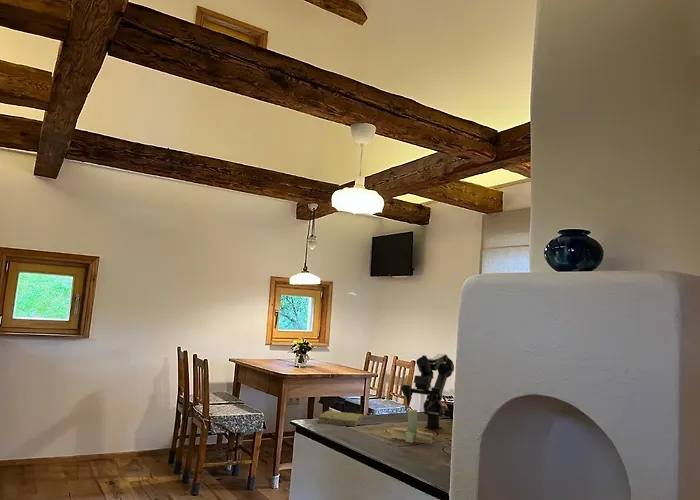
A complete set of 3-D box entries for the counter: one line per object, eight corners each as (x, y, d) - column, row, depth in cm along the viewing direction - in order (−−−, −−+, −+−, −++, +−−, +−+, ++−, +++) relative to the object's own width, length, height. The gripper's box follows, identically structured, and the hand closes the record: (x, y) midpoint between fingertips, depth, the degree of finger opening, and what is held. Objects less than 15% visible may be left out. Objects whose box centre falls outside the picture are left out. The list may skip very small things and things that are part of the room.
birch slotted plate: (394, 436, 242) (394, 427, 243) (432, 442, 234) (432, 433, 235) (392, 437, 240) (392, 428, 240) (430, 444, 232) (430, 434, 232)
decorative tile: (325, 416, 282) (325, 409, 283) (363, 419, 278) (363, 412, 279) (316, 424, 264) (316, 416, 265) (356, 427, 260) (356, 419, 260)
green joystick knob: (410, 437, 242) (411, 408, 243) (419, 439, 240) (419, 409, 241) (404, 441, 234) (405, 411, 236) (413, 443, 233) (413, 412, 234)
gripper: (403, 367, 255) (393, 393, 244) (441, 370, 246) (433, 398, 235) (408, 382, 261) (399, 408, 250) (445, 386, 252) (438, 413, 241)
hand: (417, 407), depth 244 cm, fingers open, 9 cm apart
